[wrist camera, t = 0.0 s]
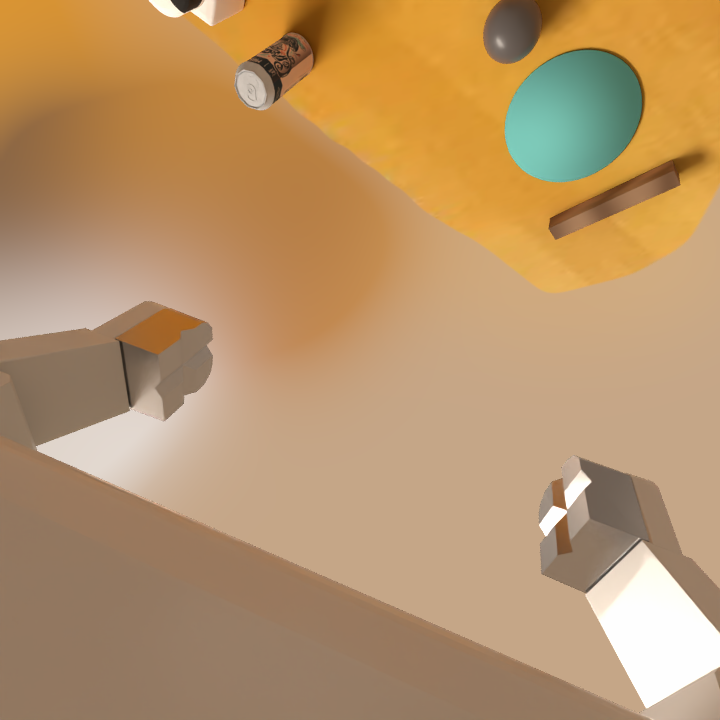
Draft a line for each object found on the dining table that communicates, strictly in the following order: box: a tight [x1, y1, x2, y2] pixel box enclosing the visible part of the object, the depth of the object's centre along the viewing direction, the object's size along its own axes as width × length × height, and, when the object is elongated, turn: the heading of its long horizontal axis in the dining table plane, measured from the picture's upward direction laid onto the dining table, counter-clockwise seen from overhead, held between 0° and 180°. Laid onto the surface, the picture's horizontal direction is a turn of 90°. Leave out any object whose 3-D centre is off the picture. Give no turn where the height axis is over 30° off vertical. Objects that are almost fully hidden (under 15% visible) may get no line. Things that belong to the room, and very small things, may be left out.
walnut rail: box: [549, 160, 680, 240], centre depth 53 cm, size 14×2×2 cm, turn 135°
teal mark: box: [505, 50, 642, 182], centre depth 49 cm, size 14×14×1 cm
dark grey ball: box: [483, 0, 542, 64], centre depth 43 cm, size 6×6×6 cm
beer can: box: [235, 33, 314, 110], centre depth 50 cm, size 5×5×12 cm
